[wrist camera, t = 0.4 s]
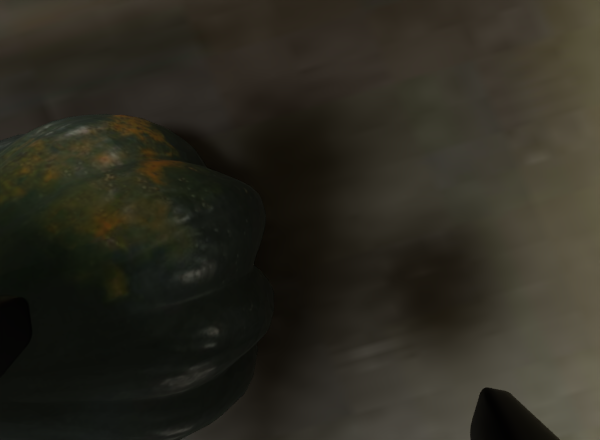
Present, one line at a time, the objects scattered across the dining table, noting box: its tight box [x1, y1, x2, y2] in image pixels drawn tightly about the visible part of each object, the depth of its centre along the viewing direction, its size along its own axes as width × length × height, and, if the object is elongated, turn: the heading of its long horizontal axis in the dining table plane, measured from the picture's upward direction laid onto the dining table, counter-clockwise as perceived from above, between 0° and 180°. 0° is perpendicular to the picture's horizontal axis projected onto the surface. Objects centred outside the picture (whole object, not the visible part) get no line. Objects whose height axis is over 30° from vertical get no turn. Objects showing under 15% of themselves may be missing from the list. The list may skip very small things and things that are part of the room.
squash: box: [0, 114, 274, 440], centre depth 19 cm, size 14×15×15 cm
